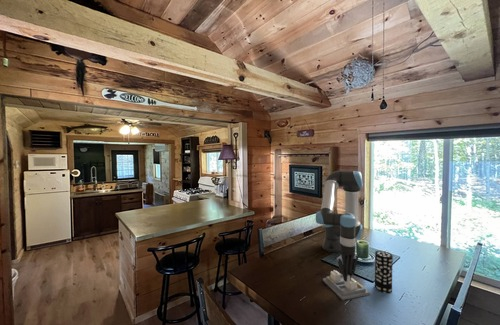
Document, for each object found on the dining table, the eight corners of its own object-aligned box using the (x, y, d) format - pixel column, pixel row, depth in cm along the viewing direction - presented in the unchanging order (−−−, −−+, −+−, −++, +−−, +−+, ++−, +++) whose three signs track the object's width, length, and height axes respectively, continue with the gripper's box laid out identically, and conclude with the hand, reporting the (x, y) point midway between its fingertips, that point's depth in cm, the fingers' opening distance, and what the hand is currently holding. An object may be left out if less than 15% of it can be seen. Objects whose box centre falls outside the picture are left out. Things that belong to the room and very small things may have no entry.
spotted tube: (373, 283, 128) (374, 249, 127) (390, 286, 125) (390, 251, 124) (376, 291, 120) (376, 256, 119) (393, 295, 117) (394, 258, 116)
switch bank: (347, 276, 135) (347, 271, 135) (369, 294, 118) (369, 289, 118) (322, 280, 131) (322, 275, 131) (342, 300, 114) (342, 294, 113)
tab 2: (352, 286, 122) (352, 276, 122) (357, 290, 119) (357, 280, 118) (345, 287, 122) (345, 277, 121) (350, 292, 118) (351, 281, 117)
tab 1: (336, 278, 130) (336, 269, 130) (340, 282, 126) (340, 272, 126) (330, 279, 129) (330, 270, 129) (334, 283, 125) (334, 273, 125)
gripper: (352, 240, 123) (352, 280, 125) (332, 242, 120) (332, 284, 121) (362, 245, 116) (362, 288, 117) (341, 248, 113) (341, 292, 114)
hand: (347, 286), depth 119 cm, fingers closed
